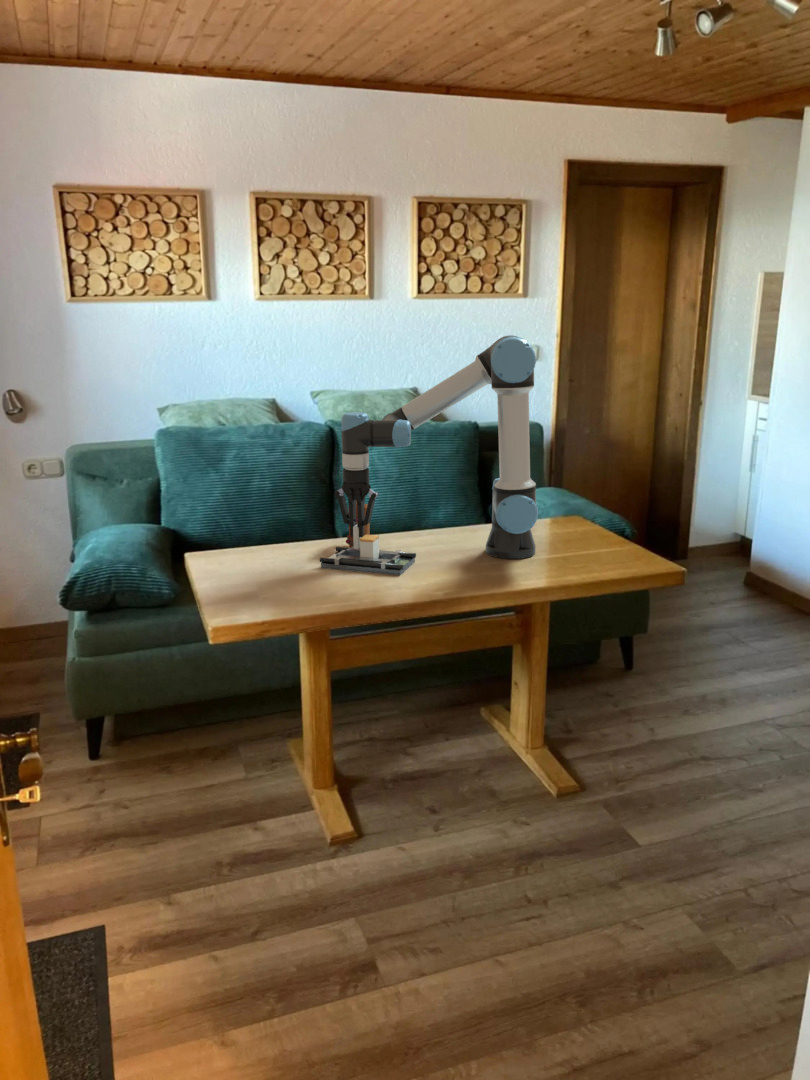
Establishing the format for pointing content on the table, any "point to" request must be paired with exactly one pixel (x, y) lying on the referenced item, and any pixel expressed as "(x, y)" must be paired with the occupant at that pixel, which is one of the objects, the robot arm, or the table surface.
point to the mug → (366, 527)
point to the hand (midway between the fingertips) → (357, 547)
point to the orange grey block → (369, 546)
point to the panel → (369, 569)
